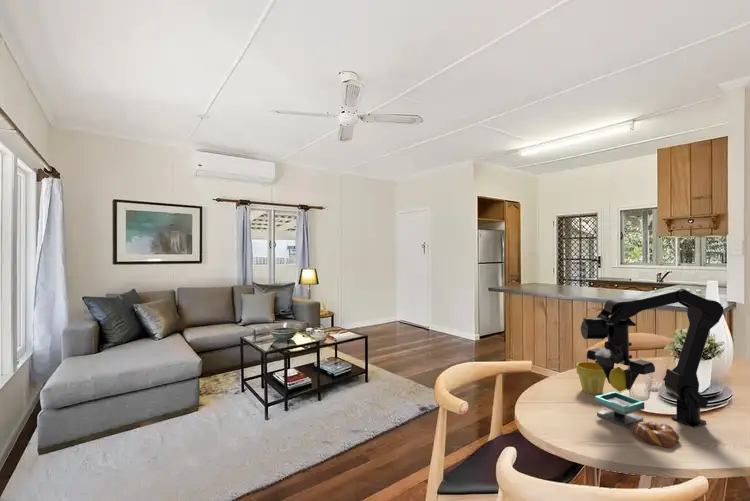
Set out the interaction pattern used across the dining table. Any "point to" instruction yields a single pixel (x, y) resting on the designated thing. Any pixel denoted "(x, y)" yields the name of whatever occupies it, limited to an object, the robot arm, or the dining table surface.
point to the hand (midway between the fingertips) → (619, 386)
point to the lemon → (618, 379)
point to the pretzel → (655, 434)
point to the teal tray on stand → (619, 408)
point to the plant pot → (591, 377)
